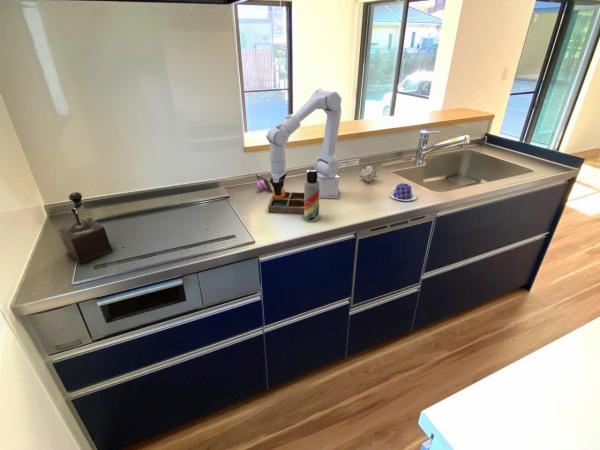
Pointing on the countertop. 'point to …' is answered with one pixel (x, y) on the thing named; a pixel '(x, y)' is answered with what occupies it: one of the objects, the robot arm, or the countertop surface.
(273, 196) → the token
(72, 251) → the brown coffee grinder
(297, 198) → the grid
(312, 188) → the lotion bottle
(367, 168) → the grey spiky ball
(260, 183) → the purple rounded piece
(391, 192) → the pudding
